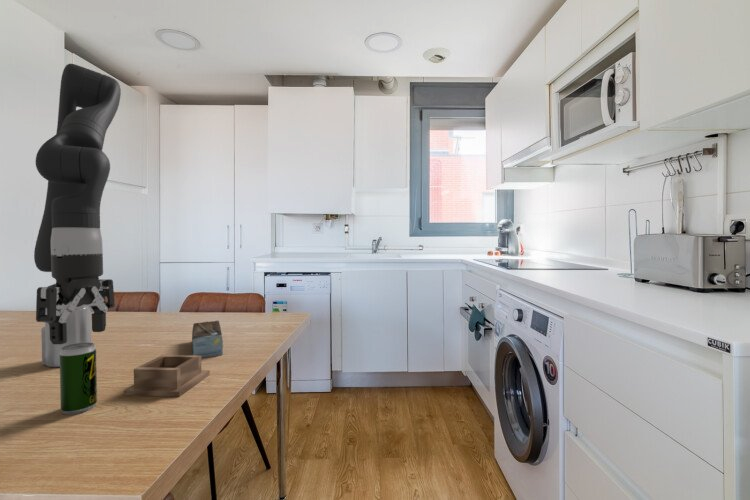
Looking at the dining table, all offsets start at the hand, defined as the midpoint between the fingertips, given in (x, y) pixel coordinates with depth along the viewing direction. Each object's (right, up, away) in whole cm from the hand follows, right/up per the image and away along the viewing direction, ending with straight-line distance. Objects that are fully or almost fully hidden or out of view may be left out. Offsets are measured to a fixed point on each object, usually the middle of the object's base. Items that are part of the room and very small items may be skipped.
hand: (80, 337), depth 68 cm
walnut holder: (+10, -13, +12) cm, 20 cm away
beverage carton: (+6, -13, +39) cm, 42 cm away
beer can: (0, -14, 0) cm, 14 cm away
